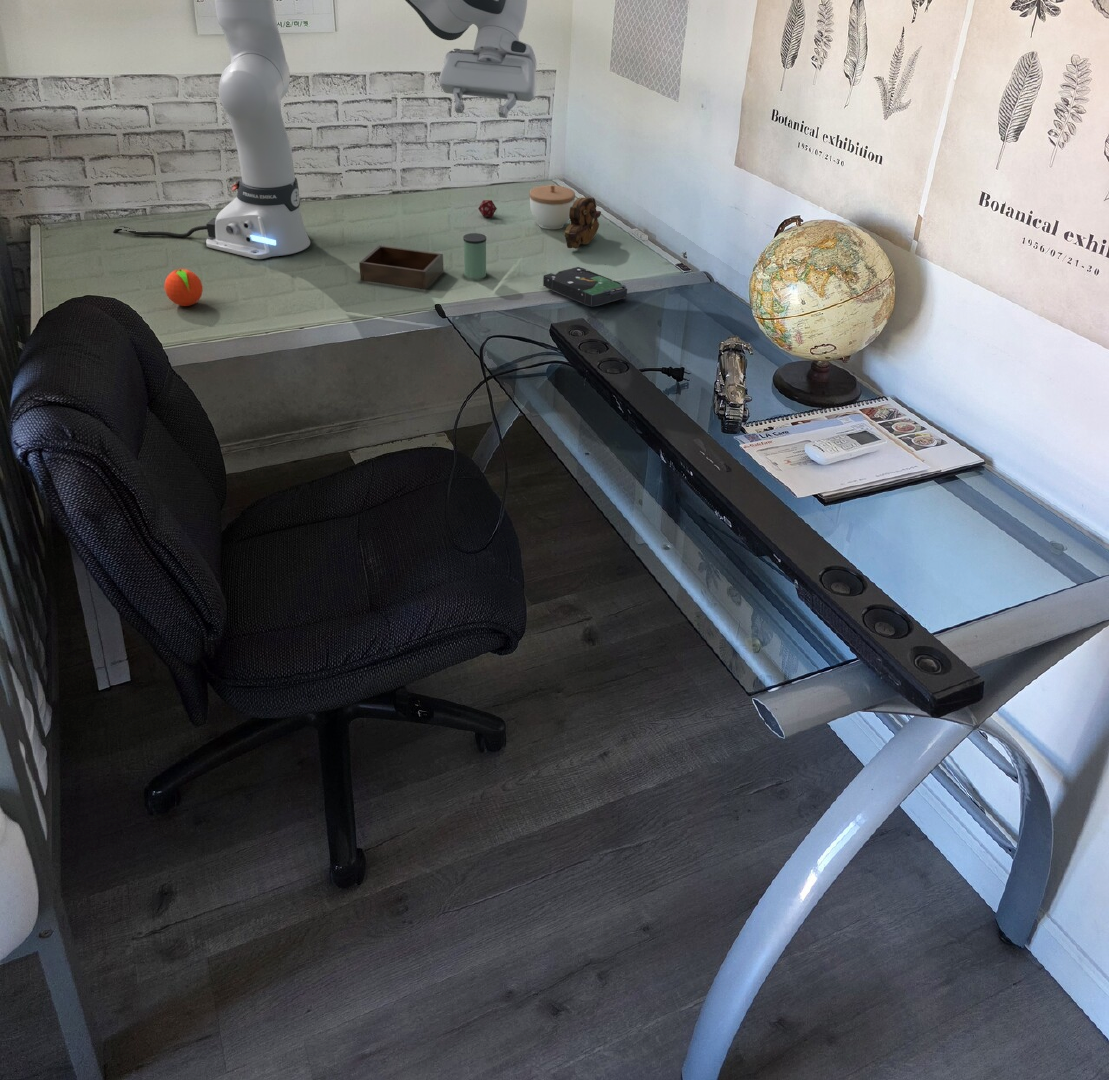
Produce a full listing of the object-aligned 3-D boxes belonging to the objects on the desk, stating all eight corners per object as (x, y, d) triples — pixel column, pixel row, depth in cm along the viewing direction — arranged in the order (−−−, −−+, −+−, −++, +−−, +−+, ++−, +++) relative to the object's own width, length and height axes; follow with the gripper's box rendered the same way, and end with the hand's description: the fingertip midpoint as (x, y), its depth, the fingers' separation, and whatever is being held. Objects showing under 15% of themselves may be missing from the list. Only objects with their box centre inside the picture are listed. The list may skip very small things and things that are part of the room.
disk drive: (541, 288, 206) (591, 308, 197) (542, 275, 204) (592, 294, 196) (577, 279, 212) (627, 298, 203) (578, 266, 211) (628, 284, 202)
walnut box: (360, 282, 206) (359, 262, 203) (380, 264, 214) (379, 245, 211) (426, 292, 203) (425, 272, 200) (443, 273, 211) (443, 254, 209)
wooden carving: (581, 257, 221) (583, 212, 215) (562, 253, 223) (564, 209, 217) (602, 233, 234) (605, 190, 228) (584, 230, 235) (586, 187, 229)
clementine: (211, 309, 193) (205, 274, 188) (175, 316, 190) (168, 281, 185) (199, 295, 198) (193, 260, 194) (164, 301, 195) (156, 266, 191)
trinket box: (568, 235, 232) (570, 194, 227) (524, 230, 234) (525, 190, 228) (577, 220, 241) (579, 180, 235) (534, 215, 242) (535, 176, 236)
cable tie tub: (460, 279, 209) (460, 239, 204) (468, 270, 213) (467, 232, 208) (482, 282, 208) (482, 242, 203) (489, 273, 212) (489, 234, 207)
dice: (477, 214, 241) (477, 197, 239) (496, 214, 242) (496, 197, 239) (478, 219, 238) (478, 203, 236) (497, 219, 239) (497, 203, 236)
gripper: (443, 38, 204) (428, 99, 203) (538, 47, 201) (524, 109, 199) (451, 57, 211) (437, 117, 209) (544, 66, 207) (530, 127, 205)
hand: (480, 113), depth 204 cm, fingers open, 8 cm apart
